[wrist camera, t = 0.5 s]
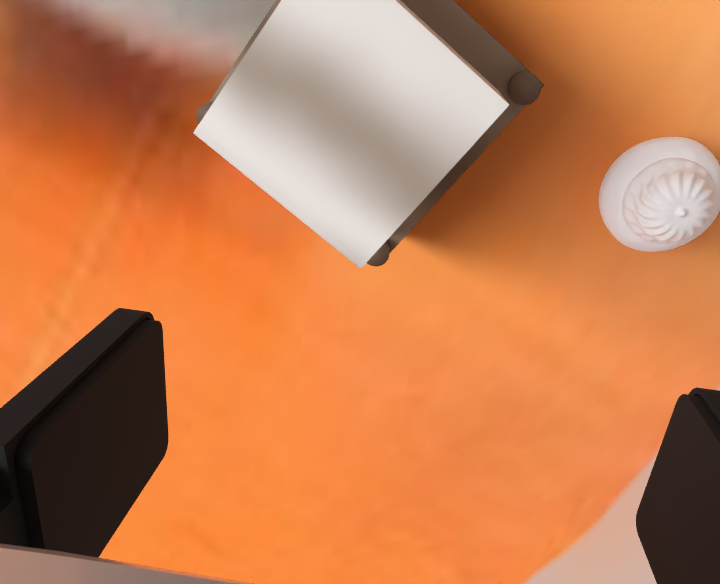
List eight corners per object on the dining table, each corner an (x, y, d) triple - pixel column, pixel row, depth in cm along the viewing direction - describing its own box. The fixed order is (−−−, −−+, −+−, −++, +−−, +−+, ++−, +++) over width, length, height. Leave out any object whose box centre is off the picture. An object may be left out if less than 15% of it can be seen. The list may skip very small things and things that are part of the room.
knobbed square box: (361, -81, 31) (316, -136, 20) (528, 75, 33) (567, 99, 22) (236, 103, 36) (145, 137, 25) (388, 230, 38) (365, 312, 27)
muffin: (621, 107, 33) (663, 127, 27) (721, 151, 34) (785, 180, 27) (565, 207, 36) (590, 246, 30) (658, 246, 36) (703, 293, 30)
